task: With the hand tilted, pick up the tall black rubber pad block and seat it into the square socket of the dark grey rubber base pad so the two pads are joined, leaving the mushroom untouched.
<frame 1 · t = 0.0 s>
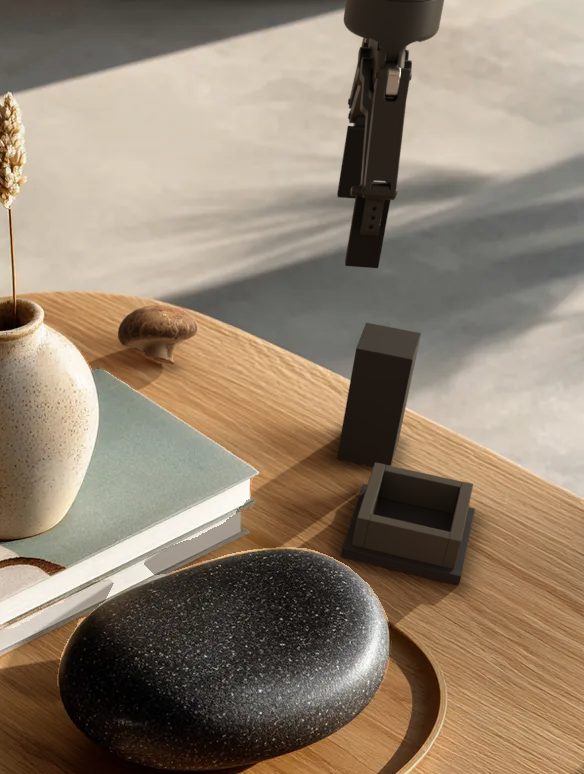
hand: (356, 229, 117), 21 cm above the table, tool pointing down, fingers open, 13 cm apart
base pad: (408, 536, 116), on the table
mushroom: (155, 356, 139), on the table
pad block: (367, 450, 126), on the table
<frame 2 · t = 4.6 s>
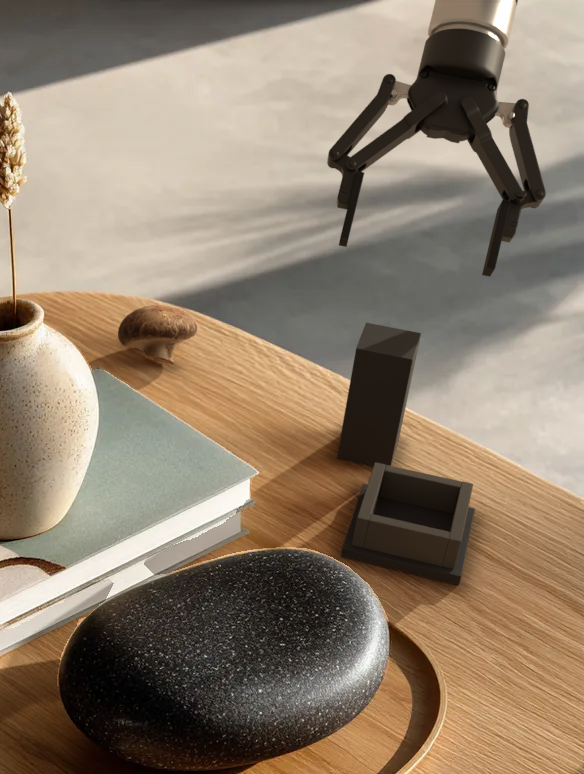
hand: (415, 257, 125), 15 cm above the table, tool tilted 45°, fingers open, 13 cm apart
nothing on the table moved.
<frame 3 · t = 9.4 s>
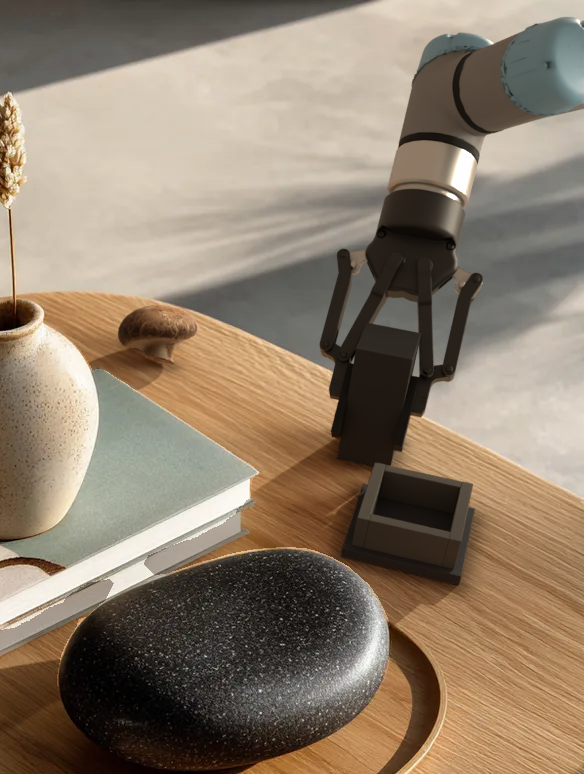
hand: (366, 440, 121), 3 cm above the table, tool tilted 45°, fingers closed on pad block, 5 cm apart
pad block: (367, 450, 126), on the table, touching gripper
everything else where it was.
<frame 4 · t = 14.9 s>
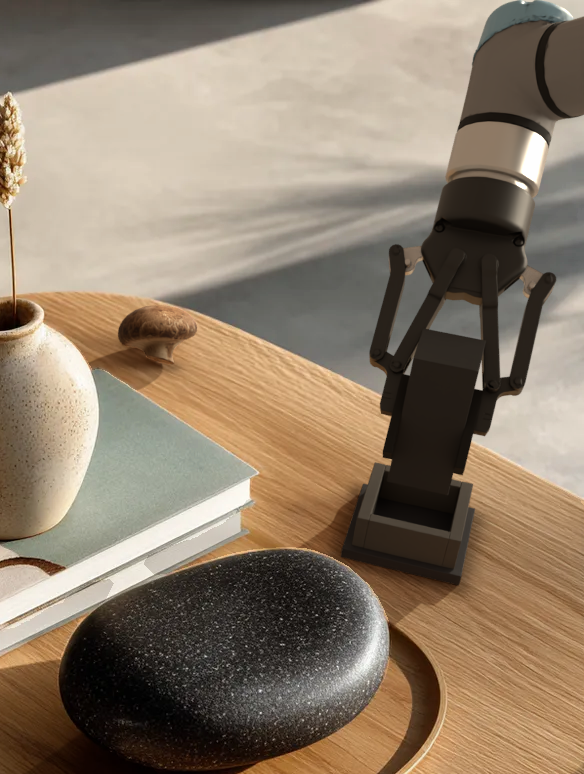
hand: (423, 462, 107), 10 cm above the table, tool tilted 45°, fingers closed on pad block, 5 cm apart
pad block: (421, 472, 112), point 7 cm above the table, touching gripper
everything else where it was.
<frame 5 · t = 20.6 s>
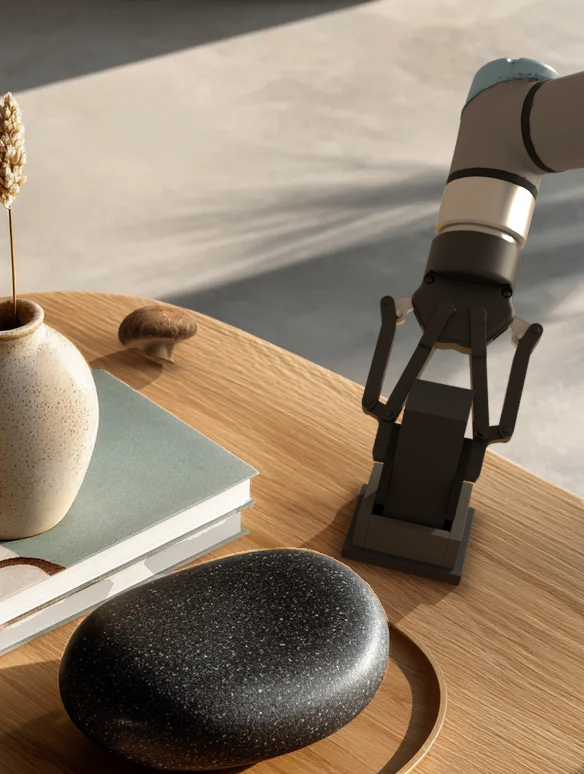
hand: (414, 509, 110), 6 cm above the table, tool tilted 45°, fingers closed on pad block, 5 cm apart
pad block: (414, 516, 115), point 2 cm above the table, touching gripper
everything else where it was.
when the fingers open (6 cm above the table, at t = 20.6 s): pad block drops 1 cm, resting on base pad.
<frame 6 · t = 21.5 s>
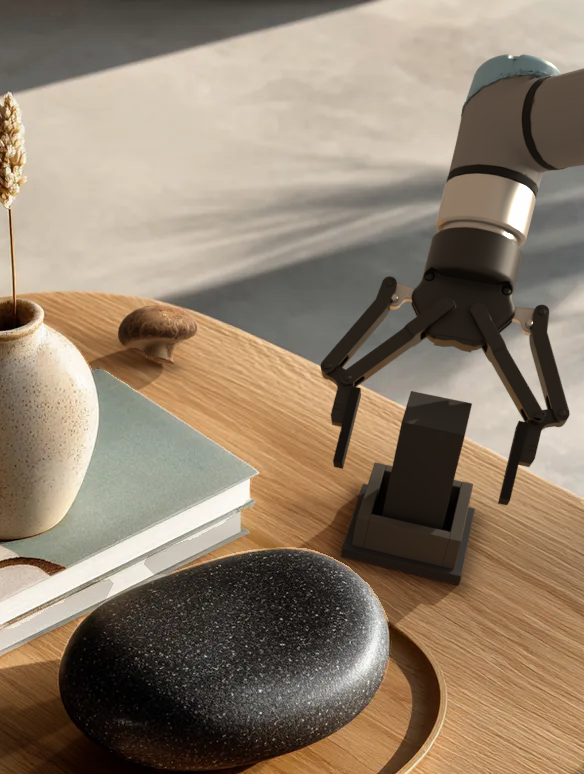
hand: (419, 483, 110), 7 cm above the table, tool tilted 45°, fingers open, 13 cm apart
pad block: (411, 528, 115), point 1 cm above the table, touching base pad
everything else where it was.
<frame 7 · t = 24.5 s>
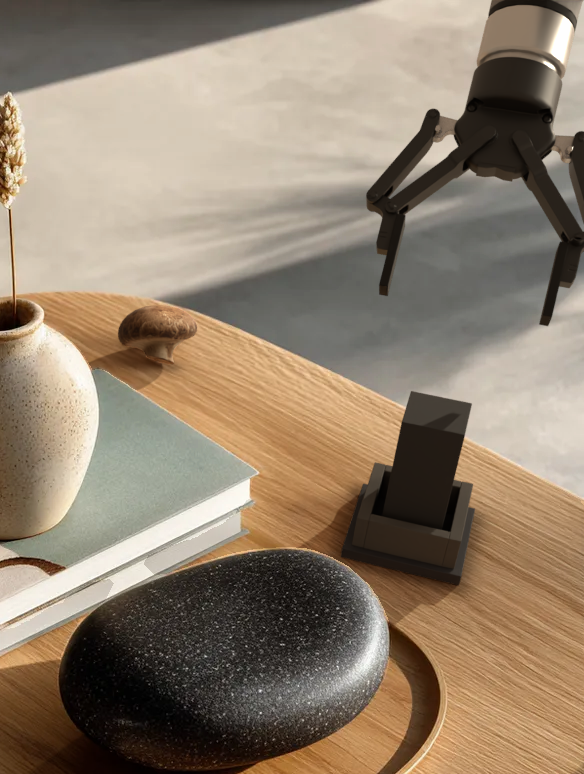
hand: (463, 306, 113), 17 cm above the table, tool tilted 45°, fingers open, 13 cm apart
nothing on the table moved.
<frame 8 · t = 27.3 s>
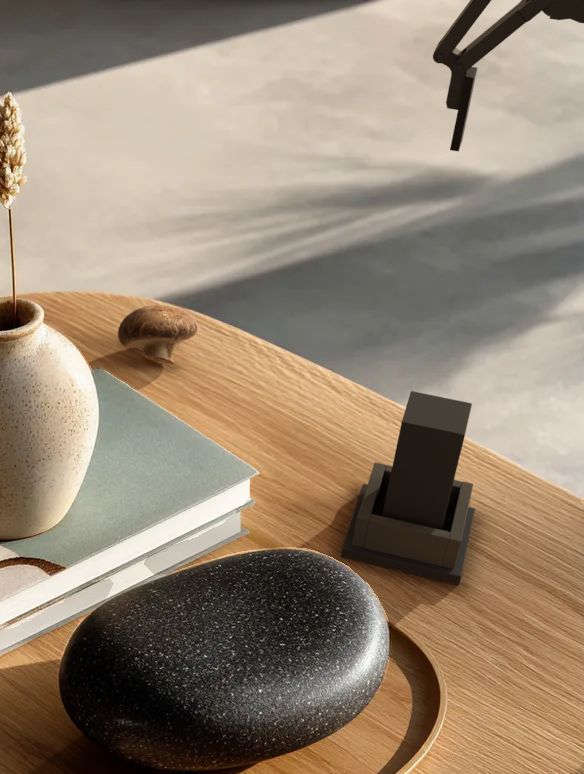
hand: (535, 158, 115), 27 cm above the table, tool pointing down, fingers open, 13 cm apart
nothing on the table moved.
at the end: pad block 0.1 cm off-centre on the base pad, point 1.0 cm above the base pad's base; pad block tilted 0°; mushroom moved 0.2 cm from its start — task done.
